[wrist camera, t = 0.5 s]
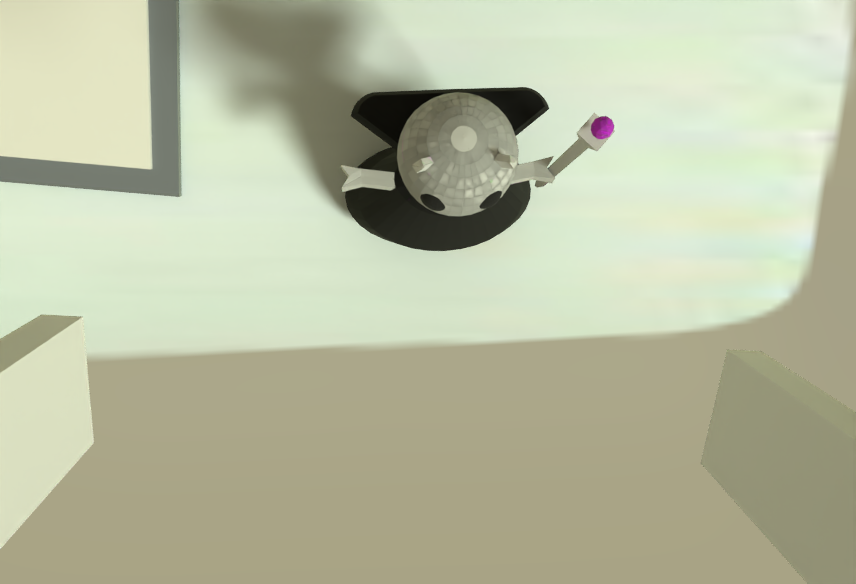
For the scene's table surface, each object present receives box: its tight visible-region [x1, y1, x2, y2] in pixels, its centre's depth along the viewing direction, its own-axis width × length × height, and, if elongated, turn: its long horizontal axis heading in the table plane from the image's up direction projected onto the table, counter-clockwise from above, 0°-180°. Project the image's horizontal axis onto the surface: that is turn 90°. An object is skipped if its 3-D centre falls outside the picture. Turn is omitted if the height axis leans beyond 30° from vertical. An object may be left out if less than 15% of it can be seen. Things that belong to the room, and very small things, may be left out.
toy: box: [341, 87, 615, 251], centre depth 30 cm, size 12×7×15 cm, turn 92°
